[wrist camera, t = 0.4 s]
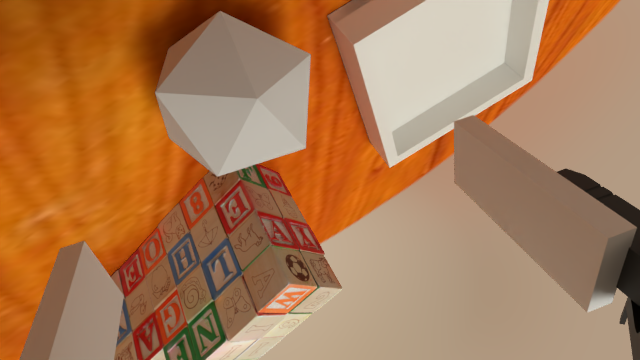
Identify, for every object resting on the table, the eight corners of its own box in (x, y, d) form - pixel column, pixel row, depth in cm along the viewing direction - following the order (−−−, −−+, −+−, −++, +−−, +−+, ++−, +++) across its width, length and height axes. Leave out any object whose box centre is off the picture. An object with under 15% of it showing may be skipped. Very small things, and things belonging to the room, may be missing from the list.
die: (152, 122, 27) (269, 208, 27) (80, 80, 19) (249, 205, 19) (227, 26, 28) (342, 110, 28) (191, -57, 20) (356, 62, 19)
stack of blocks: (141, 307, 43) (170, 432, 36) (79, 307, 38) (99, 451, 31) (279, 170, 37) (346, 291, 30) (226, 148, 32) (292, 287, 25)
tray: (327, 15, 27) (353, 45, 25) (525, -107, 27) (567, -87, 25) (370, 142, 39) (389, 167, 37) (505, 58, 39) (531, 80, 37)
